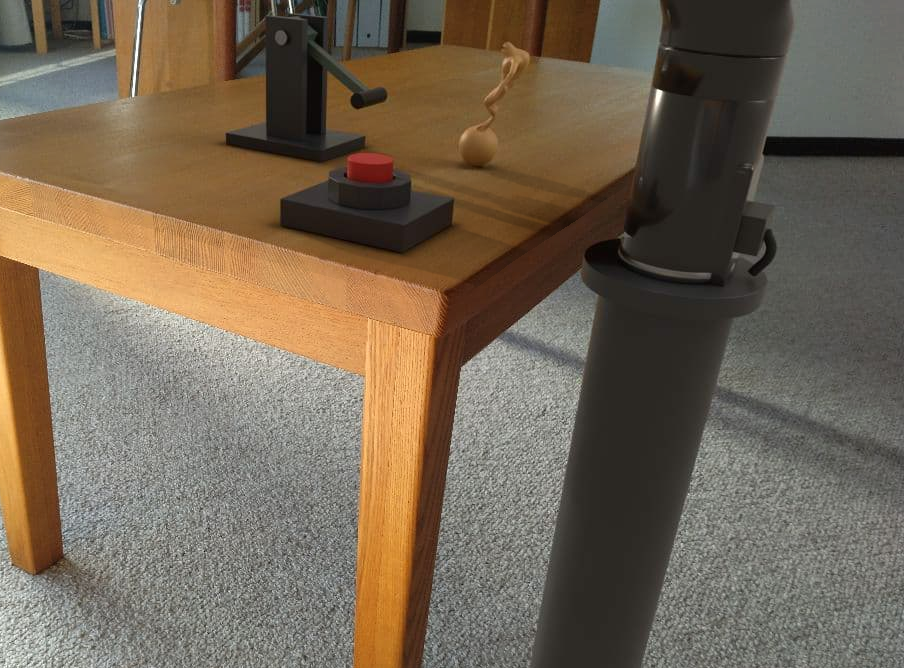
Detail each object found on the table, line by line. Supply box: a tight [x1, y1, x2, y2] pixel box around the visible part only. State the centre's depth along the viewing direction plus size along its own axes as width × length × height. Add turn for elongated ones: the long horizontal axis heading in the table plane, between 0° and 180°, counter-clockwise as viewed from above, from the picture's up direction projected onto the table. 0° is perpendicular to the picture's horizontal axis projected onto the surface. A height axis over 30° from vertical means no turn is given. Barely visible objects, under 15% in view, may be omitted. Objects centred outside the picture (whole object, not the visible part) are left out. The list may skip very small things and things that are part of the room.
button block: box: [279, 166, 455, 254], centre depth 71 cm, size 11×9×4 cm
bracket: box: [225, 12, 366, 163], centre depth 93 cm, size 12×9×13 cm
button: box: [346, 152, 395, 183], centre depth 70 cm, size 4×4×2 cm
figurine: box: [458, 41, 531, 167], centre depth 89 cm, size 8×6×12 cm
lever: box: [290, 16, 388, 110], centre depth 90 cm, size 12×5×2 cm, turn 60°
